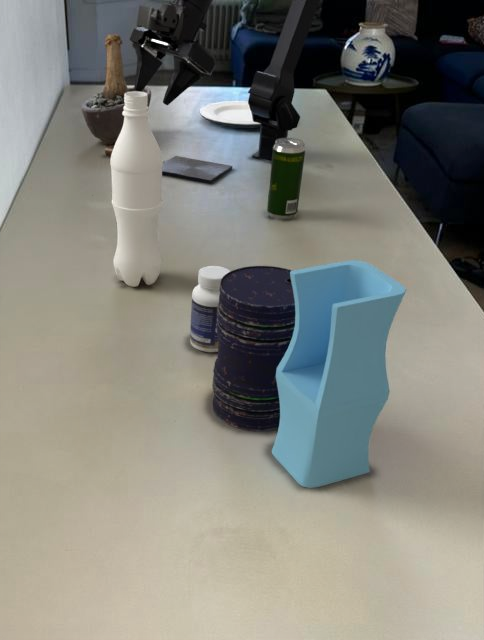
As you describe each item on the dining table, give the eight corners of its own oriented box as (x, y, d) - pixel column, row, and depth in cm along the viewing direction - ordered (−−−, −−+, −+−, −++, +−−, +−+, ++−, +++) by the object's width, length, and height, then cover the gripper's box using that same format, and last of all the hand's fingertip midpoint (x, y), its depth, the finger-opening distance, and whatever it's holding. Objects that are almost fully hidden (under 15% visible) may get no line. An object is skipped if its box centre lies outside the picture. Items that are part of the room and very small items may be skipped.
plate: (291, 133, 173) (292, 123, 172) (200, 131, 173) (200, 122, 172) (281, 109, 189) (282, 100, 187) (198, 108, 189) (198, 99, 188)
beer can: (303, 215, 134) (312, 142, 126) (282, 222, 132) (290, 148, 124) (281, 207, 137) (289, 135, 130) (260, 213, 135) (267, 141, 127)
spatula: (232, 170, 153) (233, 159, 152) (210, 184, 146) (211, 173, 145) (119, 149, 162) (119, 139, 161) (94, 162, 156) (94, 152, 155)
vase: (266, 448, 82) (289, 270, 69) (328, 431, 85) (361, 257, 71) (304, 490, 77) (337, 307, 64) (369, 472, 79) (413, 291, 66)
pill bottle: (218, 357, 97) (223, 285, 90) (182, 346, 99) (184, 274, 92) (238, 340, 100) (244, 269, 94) (202, 329, 102) (206, 259, 96)
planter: (151, 129, 174) (150, 27, 161) (153, 151, 162) (153, 42, 149) (86, 129, 174) (80, 27, 161) (83, 151, 161) (77, 42, 148)
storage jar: (235, 439, 83) (246, 314, 74) (196, 394, 90) (202, 274, 80) (312, 419, 86) (333, 296, 77) (269, 377, 93) (284, 259, 83)
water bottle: (168, 273, 116) (171, 90, 99) (152, 293, 110) (152, 103, 94) (124, 266, 117) (119, 85, 101) (106, 285, 112) (99, 98, 96)
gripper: (128, -27, 131) (89, 65, 136) (192, -14, 120) (148, 86, 125) (171, 10, 139) (133, 96, 144) (235, 26, 128) (192, 118, 133)
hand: (150, 98), depth 136 cm, fingers open, 9 cm apart
